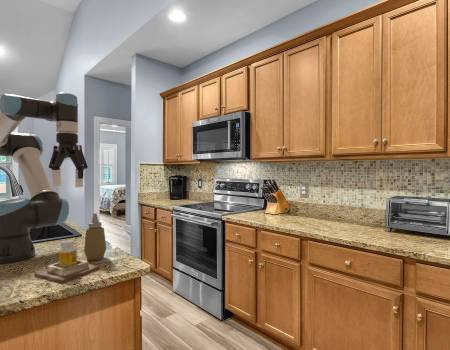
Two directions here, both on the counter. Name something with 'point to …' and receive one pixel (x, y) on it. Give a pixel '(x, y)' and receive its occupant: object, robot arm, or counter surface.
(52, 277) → the collar holder
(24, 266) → the counter surface
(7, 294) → the counter surface
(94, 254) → the squeeze bottle
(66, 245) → the supplement bottle
